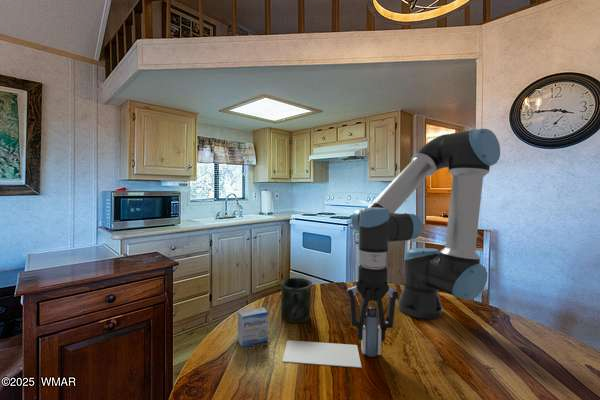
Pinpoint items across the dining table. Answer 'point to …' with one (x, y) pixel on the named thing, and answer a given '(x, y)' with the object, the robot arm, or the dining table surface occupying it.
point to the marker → (371, 331)
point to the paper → (322, 354)
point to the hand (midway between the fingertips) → (370, 351)
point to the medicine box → (252, 326)
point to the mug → (296, 300)
